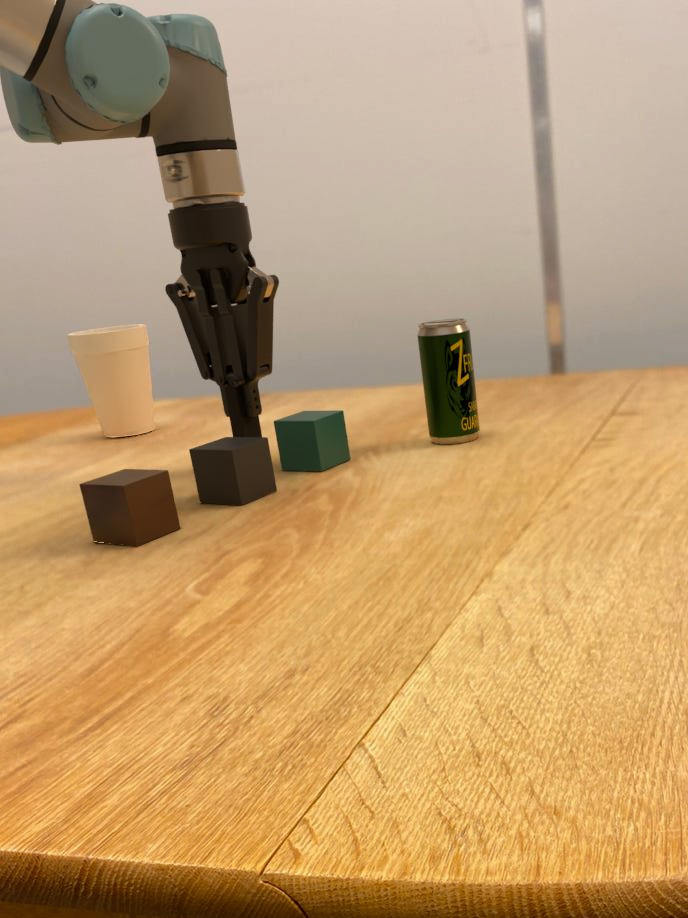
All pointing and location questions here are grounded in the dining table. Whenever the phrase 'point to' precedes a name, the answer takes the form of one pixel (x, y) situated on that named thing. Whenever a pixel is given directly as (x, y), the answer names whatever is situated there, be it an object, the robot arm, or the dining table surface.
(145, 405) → the foam cup
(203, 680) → the dining table surface
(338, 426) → the teal block
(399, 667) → the dining table surface
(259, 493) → the charcoal block
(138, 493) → the walnut block
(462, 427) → the beer can
